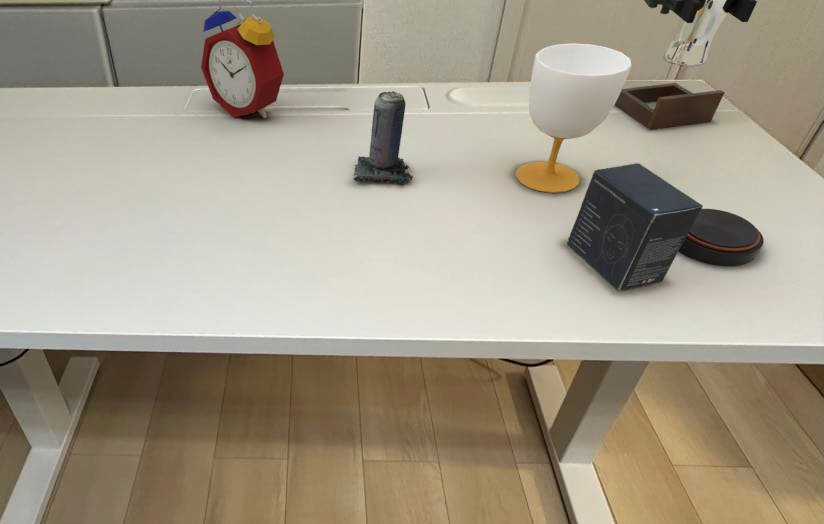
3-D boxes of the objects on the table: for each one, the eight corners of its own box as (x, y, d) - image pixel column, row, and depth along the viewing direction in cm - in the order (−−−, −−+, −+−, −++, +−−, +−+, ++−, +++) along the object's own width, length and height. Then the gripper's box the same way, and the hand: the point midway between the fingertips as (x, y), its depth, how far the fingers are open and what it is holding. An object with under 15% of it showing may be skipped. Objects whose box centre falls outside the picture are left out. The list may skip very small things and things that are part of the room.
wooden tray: (669, 96, 106) (681, 68, 103) (710, 122, 99) (725, 92, 95) (612, 103, 105) (622, 74, 102) (649, 129, 98) (662, 99, 94)
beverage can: (403, 160, 94) (411, 84, 85) (414, 185, 88) (424, 105, 80) (346, 164, 94) (349, 88, 85) (354, 189, 88) (358, 110, 80)
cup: (513, 197, 85) (544, 76, 73) (501, 158, 93) (527, 43, 81) (598, 199, 83) (645, 75, 71) (578, 159, 92) (617, 42, 80)
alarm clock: (205, 108, 112) (189, -11, 98) (236, 93, 116) (225, -23, 102) (263, 127, 105) (254, 2, 90) (294, 110, 109) (290, -12, 95)
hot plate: (719, 216, 79) (728, 200, 77) (775, 259, 72) (786, 243, 70) (650, 226, 78) (658, 210, 77) (700, 271, 71) (710, 255, 69)
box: (665, 281, 70) (706, 205, 63) (617, 292, 69) (653, 216, 62) (608, 233, 77) (639, 160, 70) (564, 243, 76) (590, 169, 69)
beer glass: (715, 68, 92) (766, -45, 81) (667, 67, 93) (711, -44, 82) (700, 52, 97) (746, -56, 86) (654, 52, 98) (695, -55, 87)
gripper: (715, -5, 103) (780, 39, 87) (598, -2, 105) (640, 41, 89) (737, -56, 98) (810, -19, 82) (612, -52, 100) (660, -16, 84)
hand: (721, 12), depth 86 cm, fingers closed on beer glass, 7 cm apart
